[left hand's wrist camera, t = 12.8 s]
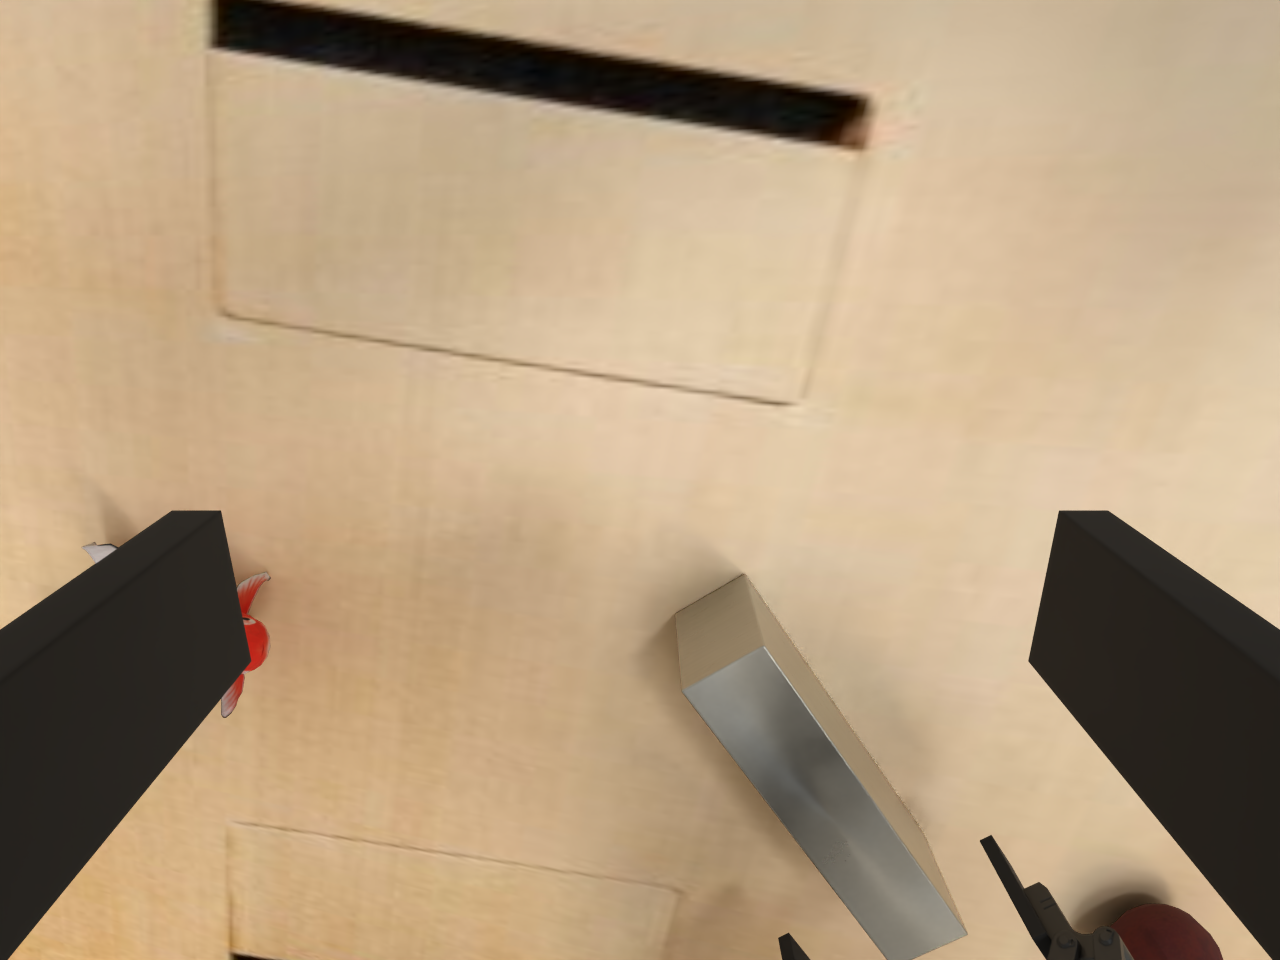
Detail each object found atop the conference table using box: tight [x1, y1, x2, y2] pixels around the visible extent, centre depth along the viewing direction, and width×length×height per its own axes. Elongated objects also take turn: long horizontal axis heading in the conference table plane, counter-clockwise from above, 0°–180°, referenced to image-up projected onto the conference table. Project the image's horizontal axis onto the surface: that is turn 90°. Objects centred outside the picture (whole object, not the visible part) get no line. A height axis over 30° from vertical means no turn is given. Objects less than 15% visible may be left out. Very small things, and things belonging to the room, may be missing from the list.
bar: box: [675, 574, 967, 960], centre depth 48 cm, size 24×5×8 cm, turn 33°
